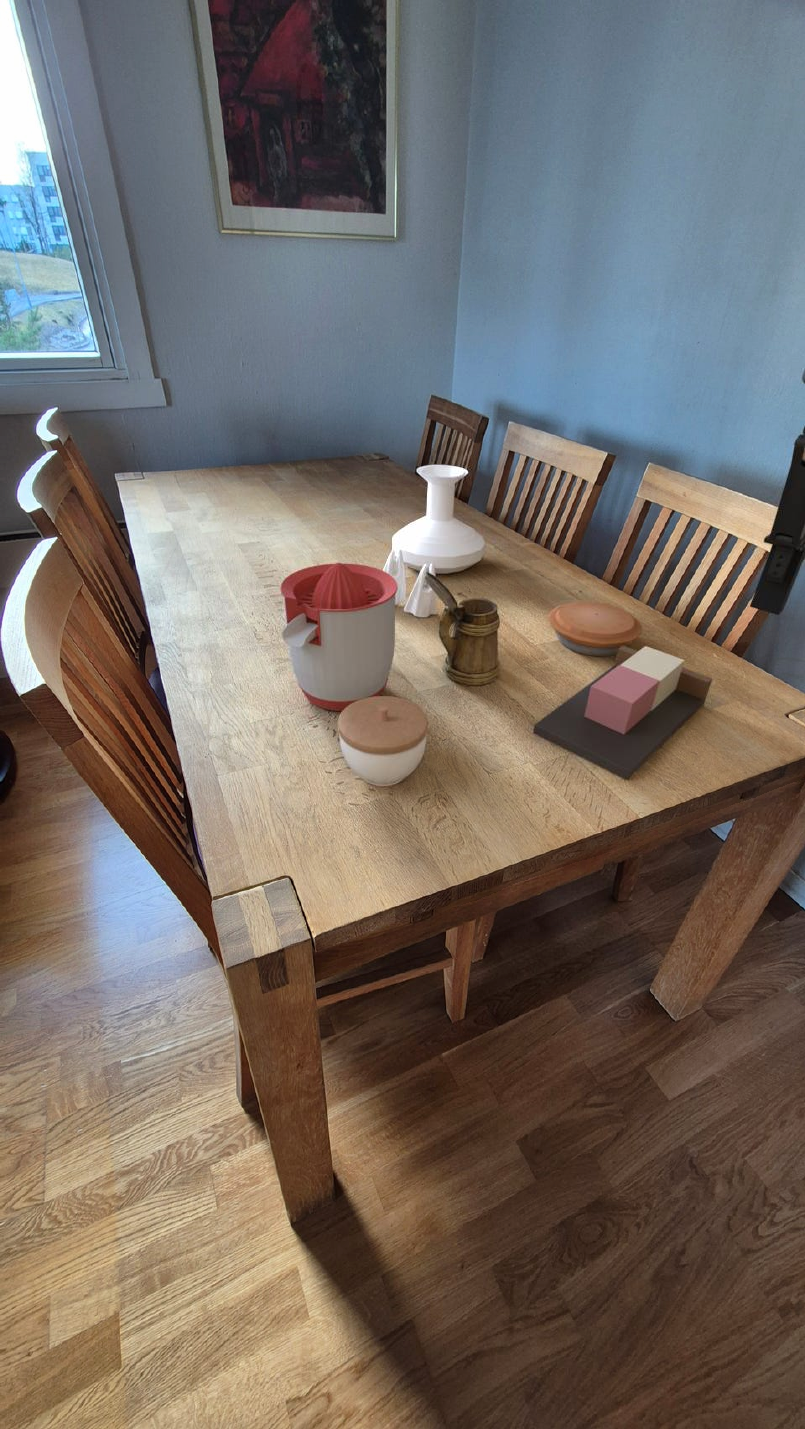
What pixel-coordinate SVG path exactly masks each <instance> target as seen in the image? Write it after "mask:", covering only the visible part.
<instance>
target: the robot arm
mask: <svg viewBox="0 0 805 1429" xmlns="http://www.w3.org/2000/svg"><path fill="white" fill-rule="evenodd" d="M801 381H802V383H803V384H804V385H805V369H804V370H803V372H802V376H801ZM789 466H790V467H789V470H788V473H787V476H786V480H785V483H784V485H783V490H782V493H781V497H780V500H779V503H778V507H777V510H776V513H775V517H774V520H773V523H772V527H771V530H770V533H769V534H767V535H766V536H765V537H764V538H763V543H764V544H768V545H771V548H770V550H769V553H768V555H767V558H766V560H765V563H764V567H763V569H762V572H761V575H760V577H759V580H758V583H757V585H756V588H755V590H754V594H753V596H752V598H751V602H750V605H749V607H750V608H752V609H756V610H760V611H763V612H767V613H769V614H772V615H777V616H779V615H780V614H781V613H782V612H784V609H785V607H786V604H787V602H788V599H789V597H790V594H791V592H792V590H793V587H794V584H795V582H796V579H797V577H798V574H799V572H800V570H801V569H800V568H801V567H802V564H803V563H804V560H805V425H804V426H803V428H802V434H799V435H798V436H797V438H796V439H795V441H794V443H793V451H792V456H791V461H790V465H789Z"/></svg>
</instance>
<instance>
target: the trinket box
mask: <svg viewBox="0 0 805 1429" xmlns="http://www.w3.org/2000/svg"><path fill="white" fill-rule="evenodd" d="M340 712H341V713H340V714H339V716H338V718H337V731H338V733H339V735H338V736H339V744H340V749H341V753H342V756H343V759H344V762H345V763H346V764H347V767H348V768H349V769H350V770H351V772H353V773H354V774H355V775H356V776H357V777H359V778H361V780H363V781H364V782H365V783H367V784H369V785H372V786H376V787H391V786H393V785H396V784H399V783H400V782H402V781H403V780H405V779H406V778H407V777H408V776H410V775H411V774H412V773H413V772H414V771H415V770H416V769H417V767H418V766H419V764H420V763H421V761H422V759H423V756H424V754H425V750H426V745H427V738H428V737H427V736H428V735H427V734H428V730H429V719H428V716H427V714H426V712H425V711H424V710H423V709H422V708H421V707H420V706H419V705H417V704H416V703H414V702H412V701H411V700H408V699H405V698H402V697H397V696H390V695H380V696H374V697H368V698H364V699H361V700H358V701H356V702H354V703H352V704H350V705H349V706H347V707H346V708H345V709H344V710H343V711H340Z"/></svg>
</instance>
